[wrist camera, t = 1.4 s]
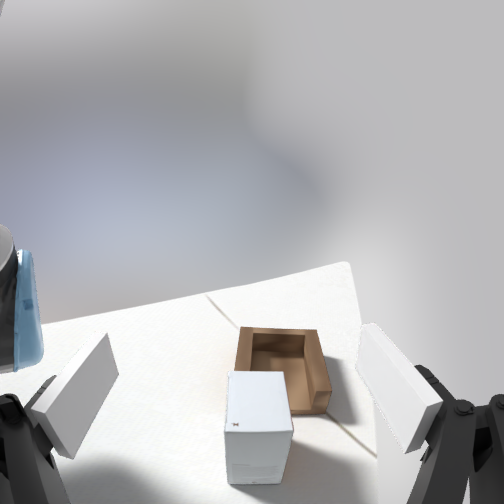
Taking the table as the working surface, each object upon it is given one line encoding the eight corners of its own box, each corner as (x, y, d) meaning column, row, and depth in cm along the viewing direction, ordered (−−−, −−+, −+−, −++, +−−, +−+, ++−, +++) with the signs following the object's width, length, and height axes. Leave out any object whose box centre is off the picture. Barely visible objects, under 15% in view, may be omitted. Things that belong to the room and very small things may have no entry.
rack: (231, 411, 33) (231, 388, 32) (240, 349, 46) (240, 326, 45) (324, 413, 33) (332, 390, 31) (312, 351, 46) (316, 329, 44)
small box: (280, 484, 22) (295, 432, 19) (226, 485, 22) (223, 432, 19) (275, 430, 30) (285, 369, 27) (228, 430, 30) (227, 368, 27)
